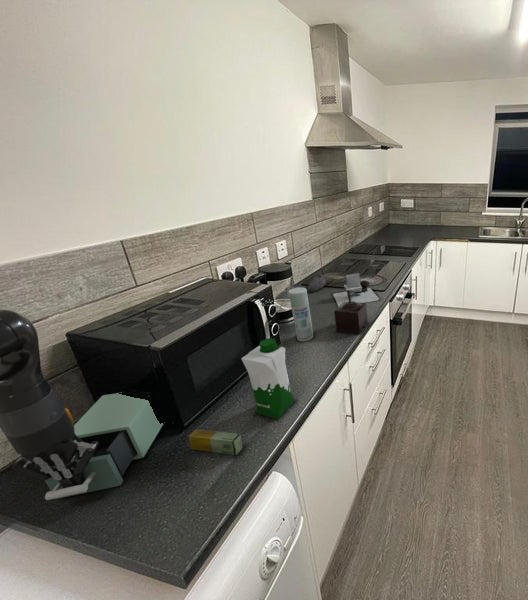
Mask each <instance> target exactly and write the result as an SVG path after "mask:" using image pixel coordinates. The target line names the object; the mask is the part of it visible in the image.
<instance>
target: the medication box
mask: <svg viewBox="0 0 528 600" xmlns="http://www.w3.org/2000/svg"><path fill="white" fill-rule="evenodd" d="M188 439H189V443H190V448H191V450H194V451H202V452H210V453H215V454H216V453H217V454H224V455H232V456H237V455H238V454H239V453H240V452H242V450H243V441H242V435H241V433H234V432H227V431H226V432H225V431H217V430H208V429H200V428H196V429H195V430H194V431H192V432H191V433H190V434H189V435H188Z"/></svg>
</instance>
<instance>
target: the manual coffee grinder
mask: <svg viewBox="0 0 528 600" xmlns="http://www.w3.org/2000/svg"><path fill="white" fill-rule="evenodd" d="M360 285H361V287H362V288H361V289H362V290H361V291H358V292H353V293H350V290H347V291H346V292H347V295H348V299H349V302H343V303H342V304H341V305H340V306H338V307H337V308H336V309H334V311H333V313H334V319H335V320H334V321H335V329H336V333H343V334H355V335H356V334H358V335H359V334H361V333H363V331H364V330H365V329H366V327H367V325H368V323H369V321H368V312H367V311H368V310H367V302H365V303H359V302H354V301H351V297H350V295H353V294H357V293H362V292H364V293H365V292H366V291H368V290H367V288H369V286H370V282H369V281H368V280H365V279H364V280H360Z"/></svg>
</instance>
